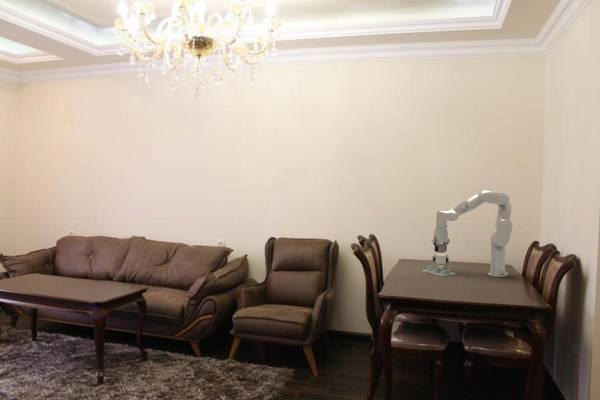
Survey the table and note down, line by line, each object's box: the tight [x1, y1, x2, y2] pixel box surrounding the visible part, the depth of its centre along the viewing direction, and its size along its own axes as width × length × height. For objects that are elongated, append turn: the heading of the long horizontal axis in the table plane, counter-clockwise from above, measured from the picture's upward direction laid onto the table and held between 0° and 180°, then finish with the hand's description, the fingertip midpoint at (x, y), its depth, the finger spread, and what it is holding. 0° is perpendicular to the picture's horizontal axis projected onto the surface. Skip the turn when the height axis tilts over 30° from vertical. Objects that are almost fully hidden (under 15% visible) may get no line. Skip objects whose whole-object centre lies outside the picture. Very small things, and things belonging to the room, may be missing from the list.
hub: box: [434, 243, 447, 254], centre depth 342 cm, size 7×7×6 cm
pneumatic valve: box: [432, 253, 449, 270], centre depth 360 cm, size 6×12×12 cm, turn 76°
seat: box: [421, 264, 456, 277], centre depth 342 cm, size 20×14×6 cm
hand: (440, 250), depth 342 cm, fingers closed on hub, 7 cm apart
